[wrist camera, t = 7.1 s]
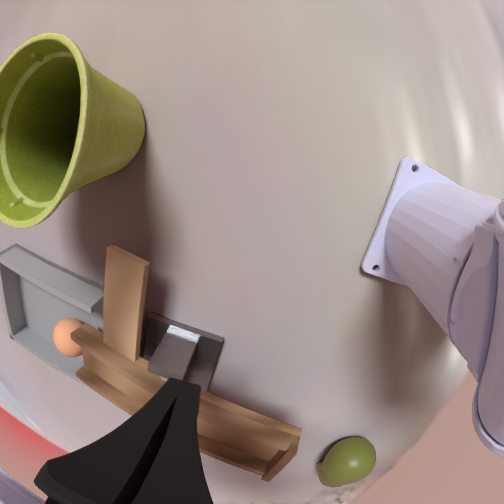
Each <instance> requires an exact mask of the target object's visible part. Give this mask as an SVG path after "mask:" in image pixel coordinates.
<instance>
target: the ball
mask: <svg viewBox="0 0 504 504" xmlns="http://www.w3.org/2000/svg"><path fill="white" fill-rule="evenodd" d="M82 325H83V323H82V322H81V321H80V320H78V319H75V318H64V319H62V320H60V321H59V322H58V323H57V325H56V326H55V328H54V332H53V339H54V343H55V345H56V347H57V348H58V350H59V351H60V352H61V353H63V354H64V355H66V356H69V357H78V356H80V355H82V354H83V353H82V347H80V346H79V345H78V344H76V343H75V342H74V341H73V340H71V337H70V333H71V332H73V331H74V330H76V329H77V328H79V327H80V326H82Z"/></svg>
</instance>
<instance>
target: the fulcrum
mask: <svg viewBox="0 0 504 504" xmlns="http://www.w3.org/2000/svg"><path fill="white" fill-rule="evenodd" d="M223 339H224V338H223V337H220V336H217V335H214V334H211V333H208V332H205V331H202V330H199V329H196V328H193V327H190V326H187V325H185V324H182V323H179V322H176V321H173V320H171V319H168V318H165V317H163V316H160V315H157V314H155V313H152V312H150V314H149V315H148V318H147V326H146V335H145V345H144V356H143V359H145V360H147V361H149V362H148V370H147V371H149V372H151V373H154V374H156V375H159V376H161V377H164V378H167V379H168V378H171V377H172V378H175V379H179V380H184V381H186V382H190V383H194V384H198V385H200V386H201V389H202V390H205V391H207V388H208V385H209V382H210V379H211V376H212V373H213V370H214V367H215V364H216V361H217V358H218V355H219V352H220V349H221V346H222V343H223Z"/></svg>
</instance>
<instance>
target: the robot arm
mask: <svg viewBox="0 0 504 504" xmlns="http://www.w3.org/2000/svg"><path fill="white" fill-rule="evenodd" d="M413 165H415V166H416V170H415V172H413V171H412V166H413ZM374 265H378V267H377V269H375V270H372V268H373V266H374ZM361 267H362V269H363V270H364V272H366V273H369V274H372V275H375V276H378V277H381V278H383V279H386V280H389V281H392V282H395V283H398V284H401V285H404V286H406V287H409V288H410V289H411V291H412V292H413V293H414V294H415V295H416V297H417V298H418V299H419V300H420V302H421V303H422V304H423V305H424V306H425V308H426V309H427V310H428V311H429V313H430V314H431V315H432V316H433V318H434V319H435V320H436V322H437V323H438V324H439V325H440V327H441V328H442V329H443V331H444V332H445V333H446V335H447V336H448V337H449V339H450V340H451V341H452V343H453V344H454V345H455V347H456V348H457V350H458V351H459V352H460V354H461V355H462V356H463V358H464V359H465V360H466V361H467V362H468V366H467V367H468V369H469V370H470V372H471V373H472V375H473V376H474V377H475V379H476V381H477V382H478V385H477V388H476V391H475V394H474V398H473V403H472V418H473V424H474V427H475V431H476V432H477V435H478V437H479V439H480V440H481V441H482V443H483V444H484V445H485V446H486V447H487V448H488V449H489V450H490V451H492V452H493V453H495V454H497V455H499V456H501V457H504V199H503V200H501V199H498V198H494V197H491V196H488V195H485V194H482V193H478V192H475V191H471V190H468V189H464V188H462V187H461V186H459V185H457V184H456V183H454V182H453V181H451V180H449V179H448V178H446V177H444V176H443V175H441V174H439V173H437V172H436V171H434V170H432V169H430V168H429V167H427V166H425V165H423V164H421V163H420V162H418V161H416V160H414V159H412V158H409V157H404V158H403V159H402V160H401V161H400V164H399V167H398V170H397V173H396V176H395V179H394V182H393V185H392V188H391V191H390V193H389V196H388V199H387V202H386V204H385V207H384V209H383V212H382V215H381V217H380V220H379V222H378V225H377V227H376V230H375V232H374V235H373V237H372V240H371V242H370V244H369V247H368V249H367V251H366V254H365V256H364V258H363V260H362V263H361ZM200 394H201V386H200V385H198V384H194V383H190V382H186V381H182V380H179V379H175V378H172V377H171V378H168V380H167V381H166V382H165V384H164V385H163V386H162V387H161V388H160V389H159V391H158V392H157V393H156V394H155V395H154V396H153V397H152V398H151V399H150V400H149V401H148V402H147V403H146V404H145V405H144V406H143V407H142V408H141V409H140V410H139V411H137V412H136V413H135V414H134V415H133V416H131V417H130V418H129V419H128V420H127V421H125V422H124V423H123V424H122V425H120V426H119V427H117V428H116V429H115V430H113V431H112V432H110V433H109V434H107V435H105V436H104V437H102V438H100V439H99V440H97V441H95V442H93V443H91V444H89V445H87V446H85V447H83V448H81V449H78V450H76V451H74V452H72V453H69V454H66V455H63V456H61V457H57V458H54V459H50V460H48V461H47V462H46V463H45V465H43V467H42V468H41V469H40V471H39V472H38V474H37V476H36V478H35V479H34V483H35V485H36V486H37V487H38V488H39V489H41V490H42V491H43V492H44V493H45V494H46V495H47V496H48V498H47V500H46V501H44V500H43V499H41V498H40V497H38V496H37V495H35V494H34V493H33V492H31V491H30V490H28V489H27V488H26V487H24V486H23V485H21V484H20V483H19V482H18V481H16V480H15V479H14V478H12V477H11V476H10V475H9V474H8V473H6V472H5V471H4V470H3V469H2V468H0V504H213V501H212V498H211V496H210V492H209V489H208V486H207V482H206V479H205V475H204V471H203V467H202V462H201V457H200V451H199V444H198V434H197V418H198V413H199V405H200Z"/></svg>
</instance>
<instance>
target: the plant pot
mask: <svg viewBox="0 0 504 504" xmlns="http://www.w3.org/2000/svg"><path fill="white" fill-rule="evenodd" d="M144 134H145V121H144V116H143V112H142V107H141V104H140V102H139V100H138V99H137V98H136V97H135V96H134V95H133V94H132V93H130V92H129V91H127V90H126V89H124V88H123V87H121V86H119V85H118V84H116V83H115V82H113V81H112V80H110V79H109V78H107V77H106V76H104V75H103V74H101V73H100V72H98V71H97V70H95V69H93V68H92V67H91V66H90V65H89V63H88V62H87V61H86V60H85V58H84V56H83V54H82V52H81V50H80V49H79V47H78V46H77V45H76V44H75V43H74V42H73V41H72V40H71V39H69V38H68V37H66V36H64V35H61V34H57V33H46V34H41V35H38V36H35V37H33V38H31V39H29V40H28V41H26V42H25V43H24V44H22V45H21V46H20V47H18V48H17V49H16V50H15V51H14V52H13V53H12V54H11V55H10V56H9V57H8V59H7V60H6V61H5V62H4V64H3V65H2V66H1V68H0V220H1V221H2V222H3V223H5V224H7V225H9V226H11V227H14V228H20V229H21V228H29V227H32V226H35V225H37V224H39V223H41V222H42V221H44V220H45V219H47V218H48V217H49V216H50V215H51V214H52V213H53V212H54V211H55V210H56V209H57V208H58V206H59V205H60V204H61V202H62V201H63V200H64V199H65V198H66V197H67V196H68V195H69V194H70V193H71V192H73V191H75V190H77V189H79V188H81V187H83V186H85V185H87V184H90V183H92V182H94V181H96V180H98V179H100V178H103V177H105V176H108V175H110V174H112V173H115V172H117V171H119V170H120V169H122V168H124V167H125V166H126V165H127V164H129V163H130V162H131V161H132V159H133V158H134V157H135V155H136V154H137V152H138V150H139V149H140V147H141V144H142V141H143V138H144Z"/></svg>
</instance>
